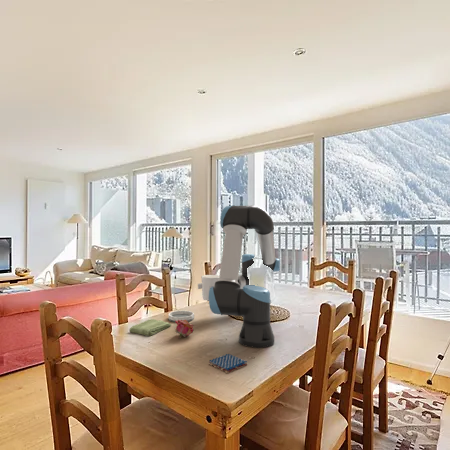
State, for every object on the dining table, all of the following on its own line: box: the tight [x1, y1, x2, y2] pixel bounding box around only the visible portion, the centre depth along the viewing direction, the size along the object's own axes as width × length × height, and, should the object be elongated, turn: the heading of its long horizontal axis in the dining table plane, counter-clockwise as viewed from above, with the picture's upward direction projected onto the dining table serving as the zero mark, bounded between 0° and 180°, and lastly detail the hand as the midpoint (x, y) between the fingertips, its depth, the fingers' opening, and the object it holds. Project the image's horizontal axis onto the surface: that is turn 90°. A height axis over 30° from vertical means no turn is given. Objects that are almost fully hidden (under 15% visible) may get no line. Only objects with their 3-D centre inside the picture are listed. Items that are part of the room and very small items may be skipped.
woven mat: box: [208, 353, 248, 374], centre depth 119 cm, size 10×11×2 cm
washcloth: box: [129, 318, 172, 337], centre depth 158 cm, size 13×18×3 cm
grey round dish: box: [168, 309, 195, 323], centre depth 176 cm, size 13×13×3 cm
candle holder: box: [201, 274, 219, 302], centre depth 175 cm, size 10×10×12 cm
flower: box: [174, 319, 194, 339], centre depth 147 cm, size 10×9×8 cm
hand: (203, 287), depth 172 cm, fingers closed on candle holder, 9 cm apart
